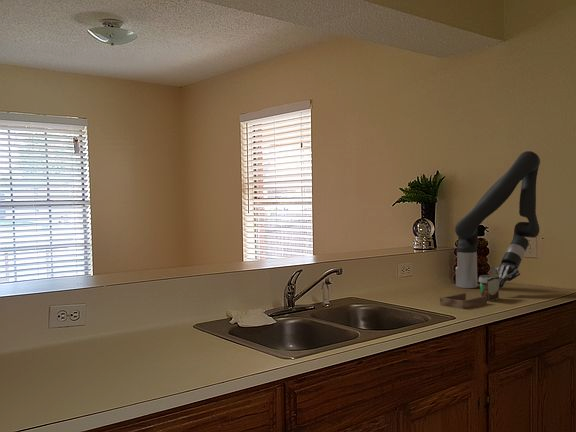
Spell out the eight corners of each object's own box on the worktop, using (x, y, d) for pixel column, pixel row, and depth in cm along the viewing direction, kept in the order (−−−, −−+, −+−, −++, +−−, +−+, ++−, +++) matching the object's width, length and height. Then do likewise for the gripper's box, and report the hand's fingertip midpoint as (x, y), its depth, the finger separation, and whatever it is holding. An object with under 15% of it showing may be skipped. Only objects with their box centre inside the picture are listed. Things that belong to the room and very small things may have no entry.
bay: (440, 305, 219) (440, 297, 219) (463, 300, 229) (463, 293, 229) (463, 309, 211) (463, 301, 210) (486, 303, 220) (486, 296, 220)
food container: (486, 296, 236) (486, 273, 236) (500, 298, 232) (499, 275, 231) (473, 300, 227) (472, 277, 227) (487, 302, 223) (486, 278, 223)
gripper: (496, 250, 245) (481, 279, 238) (524, 252, 235) (509, 282, 228) (503, 260, 249) (488, 290, 242) (530, 263, 238) (516, 293, 231)
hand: (498, 286), depth 235 cm, fingers closed
